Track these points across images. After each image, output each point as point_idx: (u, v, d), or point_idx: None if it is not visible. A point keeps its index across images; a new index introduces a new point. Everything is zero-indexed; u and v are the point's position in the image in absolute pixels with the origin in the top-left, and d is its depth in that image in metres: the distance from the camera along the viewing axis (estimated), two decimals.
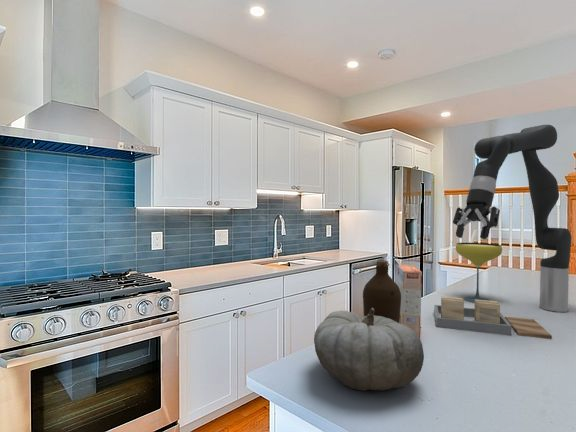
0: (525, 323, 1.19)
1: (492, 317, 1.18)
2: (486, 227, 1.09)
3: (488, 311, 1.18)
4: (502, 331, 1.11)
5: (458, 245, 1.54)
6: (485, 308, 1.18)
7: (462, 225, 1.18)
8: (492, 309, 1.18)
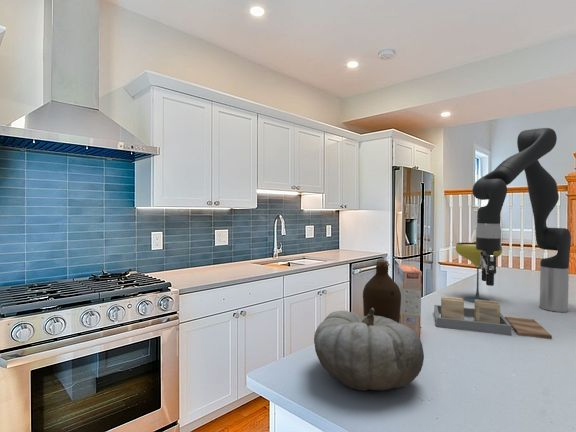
0: (525, 323, 1.19)
1: (492, 317, 1.18)
2: (488, 275, 1.16)
3: (488, 311, 1.18)
4: (502, 331, 1.11)
5: (458, 245, 1.54)
6: (485, 308, 1.18)
7: (485, 269, 1.24)
8: (492, 309, 1.18)
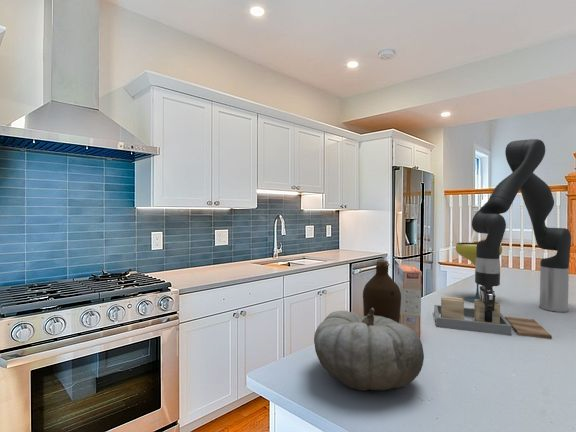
0: (525, 323, 1.19)
1: (492, 317, 1.18)
2: (486, 311, 1.17)
3: None
4: (502, 331, 1.11)
5: (458, 245, 1.54)
6: None
7: None
8: None
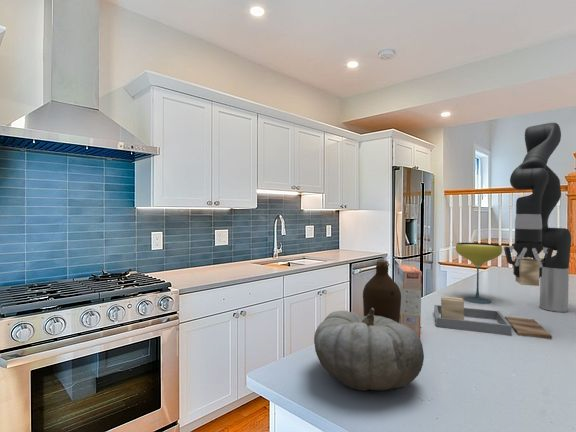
0: (525, 323, 1.19)
1: None
2: (540, 268, 1.15)
3: None
4: (502, 331, 1.11)
5: (458, 245, 1.54)
6: None
7: None
8: None
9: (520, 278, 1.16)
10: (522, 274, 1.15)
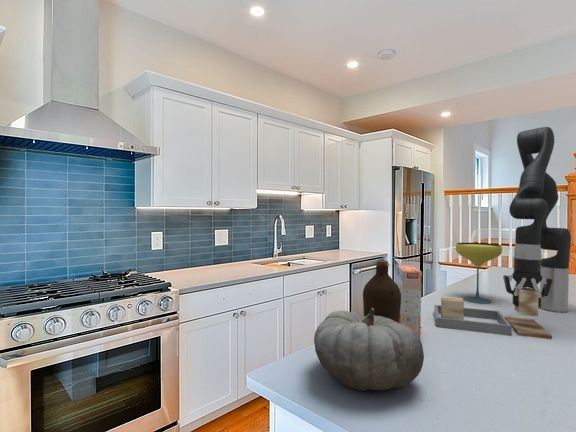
0: (525, 323, 1.19)
1: None
2: (540, 298, 1.15)
3: None
4: (502, 331, 1.11)
5: (458, 245, 1.54)
6: None
7: None
8: None
9: (519, 308, 1.16)
10: (521, 304, 1.15)
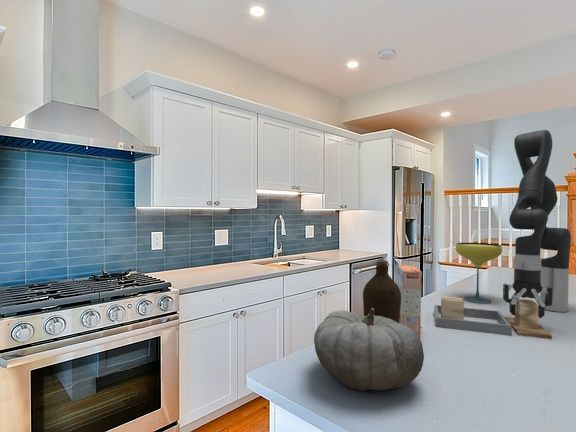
0: None
1: None
2: (543, 307, 1.15)
3: None
4: (502, 331, 1.11)
5: (458, 245, 1.54)
6: None
7: None
8: None
9: (519, 320, 1.16)
10: (521, 317, 1.15)
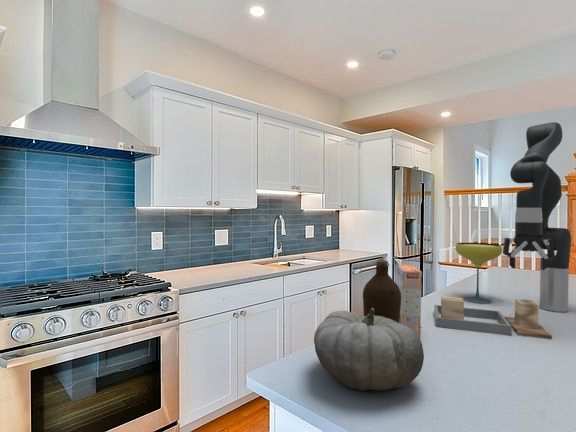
0: None
1: None
2: (546, 259, 1.15)
3: None
4: (502, 331, 1.11)
5: (458, 245, 1.54)
6: None
7: None
8: None
9: (519, 320, 1.16)
10: (521, 317, 1.15)
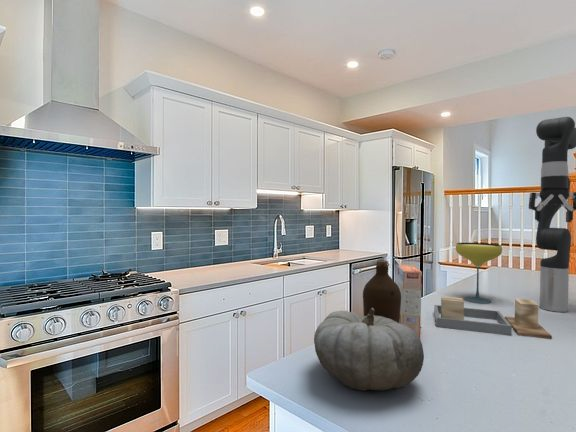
0: None
1: None
2: (571, 211, 1.19)
3: None
4: (502, 331, 1.11)
5: (458, 245, 1.54)
6: None
7: None
8: None
9: (519, 320, 1.16)
10: (521, 317, 1.15)
